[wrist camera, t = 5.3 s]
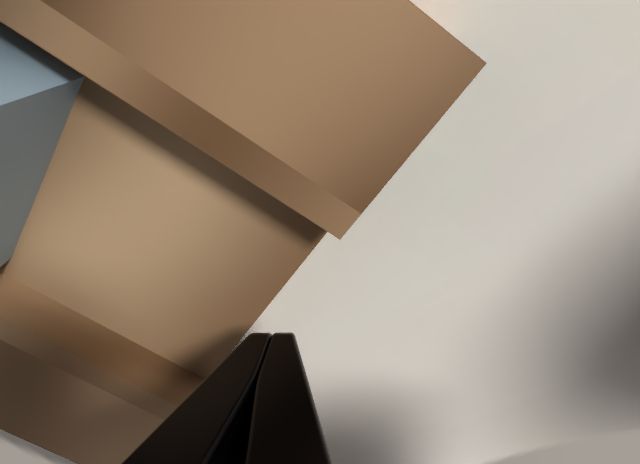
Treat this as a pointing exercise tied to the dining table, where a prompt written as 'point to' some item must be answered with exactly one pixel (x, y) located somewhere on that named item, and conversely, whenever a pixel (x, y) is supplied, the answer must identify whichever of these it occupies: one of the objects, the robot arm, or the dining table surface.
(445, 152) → the dining table surface
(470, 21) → the dining table surface
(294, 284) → the dining table surface
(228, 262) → the tray
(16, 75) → the block
